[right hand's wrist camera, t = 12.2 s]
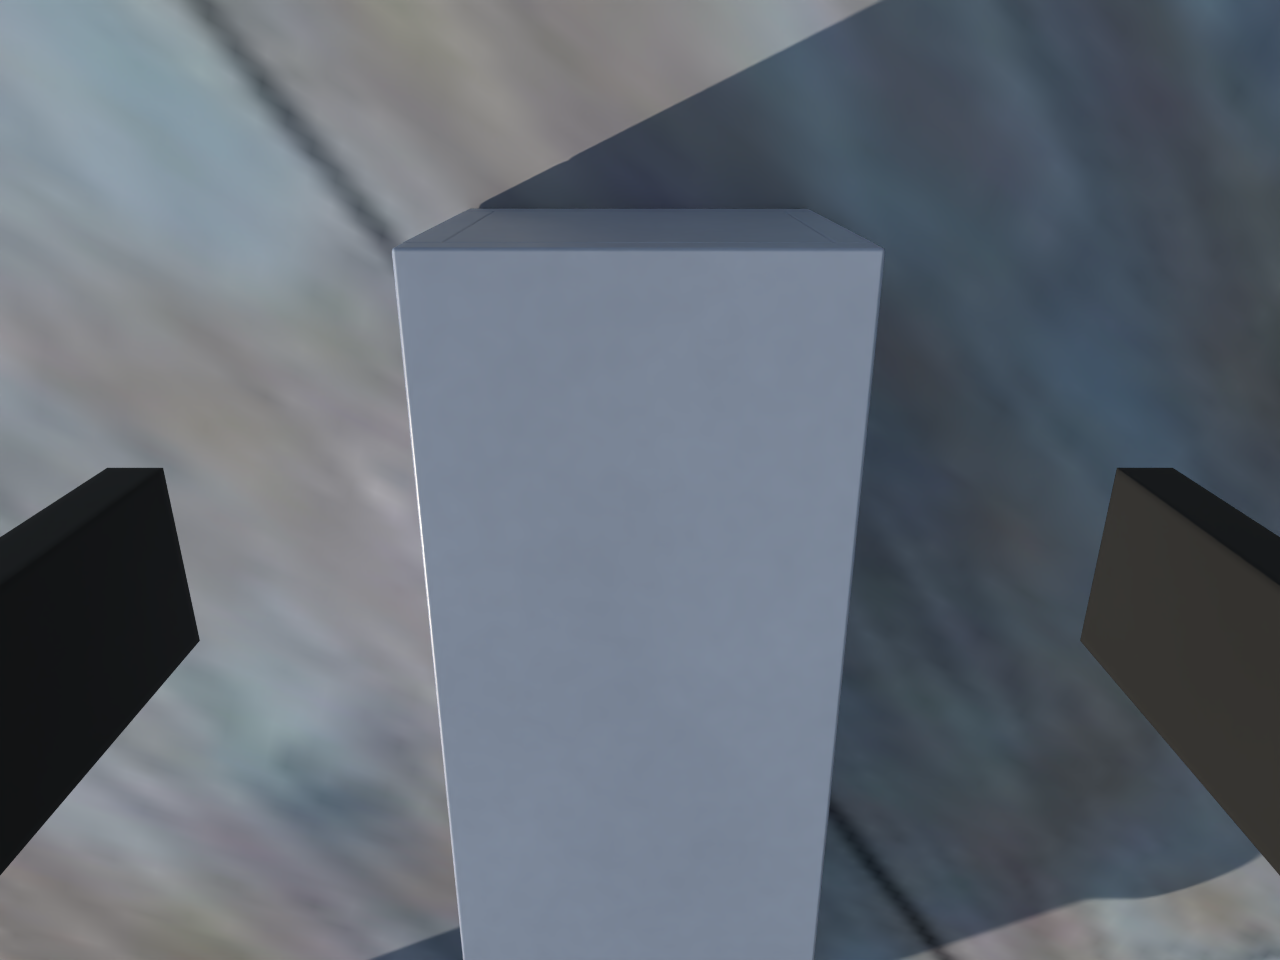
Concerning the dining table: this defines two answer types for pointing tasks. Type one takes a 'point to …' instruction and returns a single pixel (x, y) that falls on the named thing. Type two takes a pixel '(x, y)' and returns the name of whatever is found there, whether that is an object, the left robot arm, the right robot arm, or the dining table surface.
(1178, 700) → the right robot arm
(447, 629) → the cabinet
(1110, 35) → the dining table surface
